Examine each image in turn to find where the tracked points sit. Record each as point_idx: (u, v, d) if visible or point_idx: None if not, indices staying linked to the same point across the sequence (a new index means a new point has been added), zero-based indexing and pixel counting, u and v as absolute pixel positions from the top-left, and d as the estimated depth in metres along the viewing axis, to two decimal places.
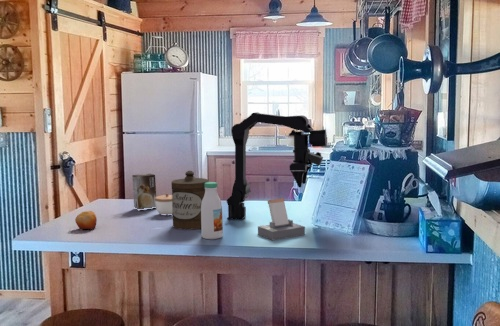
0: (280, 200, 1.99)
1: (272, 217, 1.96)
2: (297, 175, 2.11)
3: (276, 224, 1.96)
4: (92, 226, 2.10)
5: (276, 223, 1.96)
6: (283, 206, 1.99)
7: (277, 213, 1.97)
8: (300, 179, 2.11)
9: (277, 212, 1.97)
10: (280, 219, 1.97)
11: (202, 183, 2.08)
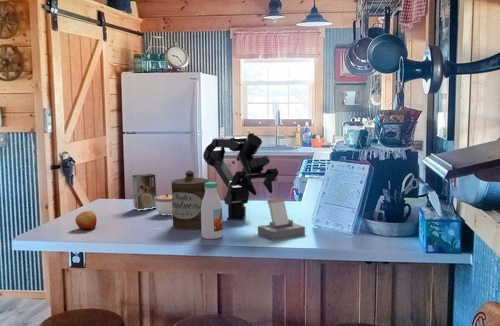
0: (280, 200, 1.99)
1: (272, 217, 1.96)
2: (247, 185, 2.07)
3: (276, 224, 1.96)
4: (92, 226, 2.10)
5: (276, 223, 1.96)
6: (283, 206, 1.99)
7: (277, 213, 1.97)
8: (250, 187, 2.05)
9: (277, 212, 1.97)
10: (280, 219, 1.97)
11: (202, 183, 2.08)
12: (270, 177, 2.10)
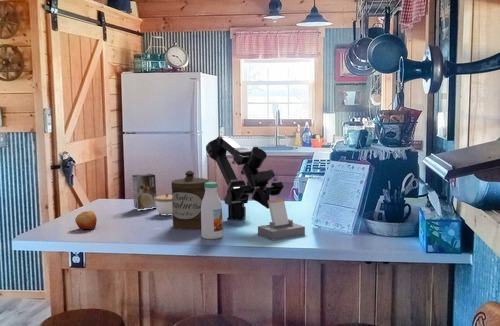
0: (280, 200, 1.99)
1: (272, 217, 1.96)
2: (260, 199, 2.06)
3: (276, 224, 1.96)
4: (92, 226, 2.10)
5: (276, 223, 1.96)
6: (283, 206, 1.99)
7: (277, 213, 1.97)
8: (263, 200, 2.04)
9: (277, 212, 1.97)
10: (280, 219, 1.97)
11: (202, 183, 2.08)
12: (268, 192, 2.06)
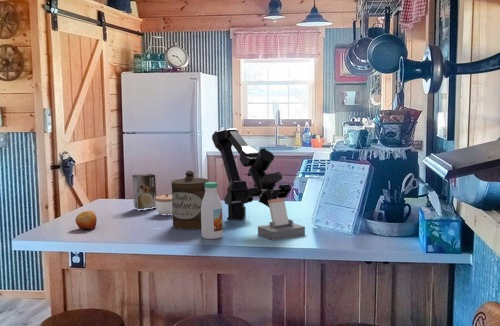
0: (280, 200, 1.98)
1: (272, 217, 1.96)
2: (267, 202, 2.01)
3: (276, 224, 1.96)
4: (92, 226, 2.10)
5: (276, 223, 1.96)
6: (283, 206, 1.99)
7: (277, 213, 1.97)
8: None
9: (277, 212, 1.97)
10: (280, 219, 1.97)
11: (202, 183, 2.08)
12: (275, 194, 2.02)
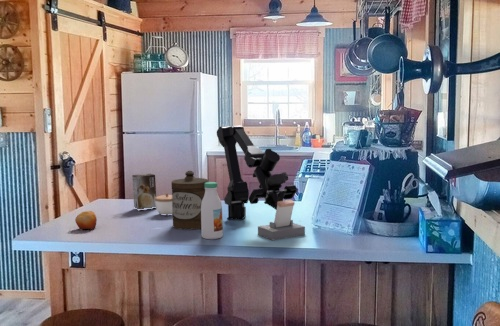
0: (290, 204, 1.93)
1: (276, 218, 1.94)
2: (273, 203, 1.98)
3: (277, 226, 1.95)
4: (92, 226, 2.10)
5: (277, 225, 1.95)
6: (290, 209, 1.95)
7: (282, 216, 1.94)
8: (276, 204, 1.96)
9: (282, 215, 1.94)
10: (283, 221, 1.95)
11: (202, 183, 2.08)
12: (281, 196, 1.98)
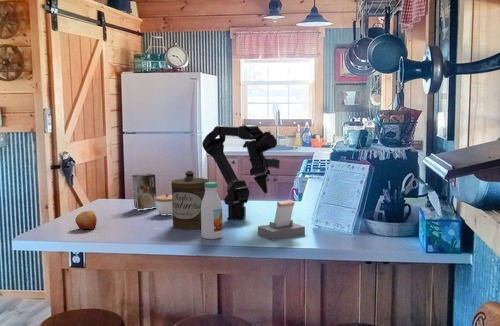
0: (290, 204, 1.93)
1: (276, 218, 1.94)
2: (261, 181, 2.11)
3: (277, 226, 1.95)
4: (92, 226, 2.10)
5: (277, 225, 1.95)
6: (290, 209, 1.95)
7: (282, 216, 1.94)
8: (264, 184, 2.11)
9: (282, 215, 1.94)
10: (283, 221, 1.95)
11: (202, 183, 2.08)
12: (267, 178, 2.14)
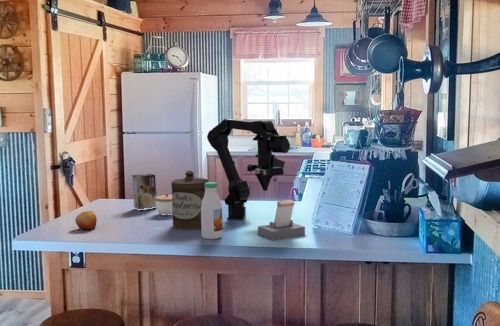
0: (290, 204, 1.93)
1: (276, 218, 1.94)
2: (265, 179, 2.14)
3: (277, 226, 1.95)
4: (92, 226, 2.10)
5: (277, 225, 1.95)
6: (290, 209, 1.95)
7: (282, 216, 1.94)
8: (268, 182, 2.15)
9: (282, 215, 1.94)
10: (283, 221, 1.95)
11: (202, 183, 2.08)
12: None
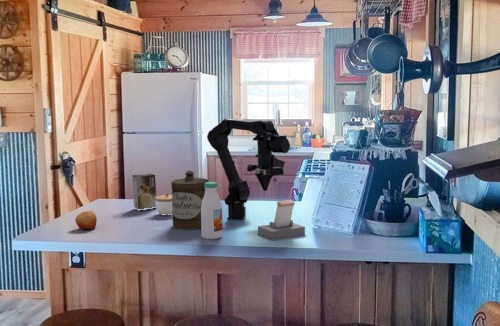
0: (290, 204, 1.93)
1: (276, 218, 1.94)
2: (265, 179, 2.14)
3: (277, 226, 1.95)
4: (92, 226, 2.10)
5: (277, 225, 1.95)
6: (290, 209, 1.95)
7: (282, 216, 1.94)
8: (268, 182, 2.15)
9: (282, 215, 1.94)
10: (283, 221, 1.95)
11: (202, 183, 2.08)
12: None
